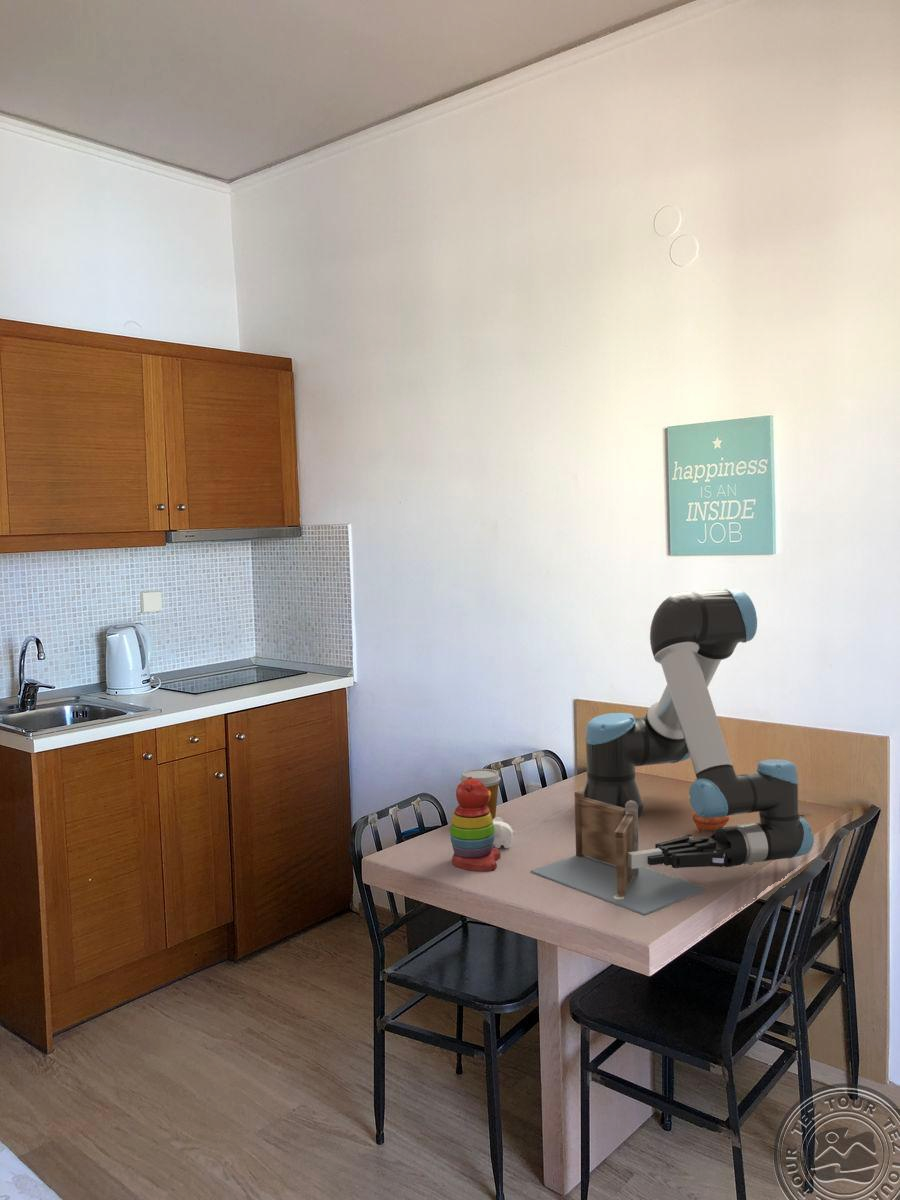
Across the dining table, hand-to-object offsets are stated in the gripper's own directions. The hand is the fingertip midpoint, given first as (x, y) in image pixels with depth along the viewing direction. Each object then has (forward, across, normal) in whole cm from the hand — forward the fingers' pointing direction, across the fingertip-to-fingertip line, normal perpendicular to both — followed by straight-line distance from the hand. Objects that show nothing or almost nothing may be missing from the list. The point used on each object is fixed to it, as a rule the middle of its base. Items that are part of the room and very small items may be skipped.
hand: (629, 860), depth 187 cm
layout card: (0, +7, -6) cm, 9 cm away
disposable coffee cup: (+12, +52, -7) cm, 54 cm away
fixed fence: (-2, +15, -6) cm, 17 cm away
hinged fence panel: (-1, +3, -6) cm, 6 cm away
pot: (-34, +26, -7) cm, 43 cm away
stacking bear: (+22, +27, -7) cm, 36 cm away
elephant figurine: (+14, +35, -7) cm, 38 cm away
